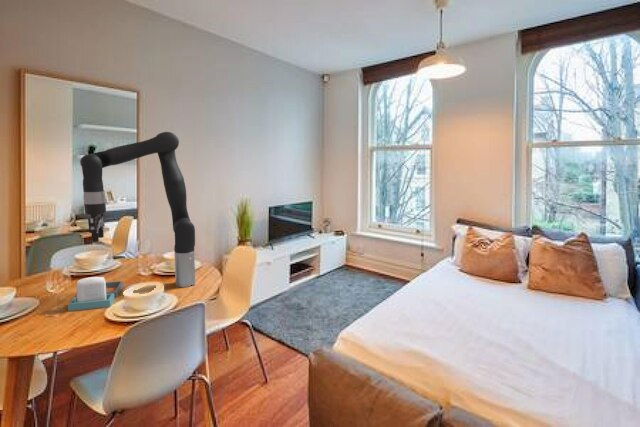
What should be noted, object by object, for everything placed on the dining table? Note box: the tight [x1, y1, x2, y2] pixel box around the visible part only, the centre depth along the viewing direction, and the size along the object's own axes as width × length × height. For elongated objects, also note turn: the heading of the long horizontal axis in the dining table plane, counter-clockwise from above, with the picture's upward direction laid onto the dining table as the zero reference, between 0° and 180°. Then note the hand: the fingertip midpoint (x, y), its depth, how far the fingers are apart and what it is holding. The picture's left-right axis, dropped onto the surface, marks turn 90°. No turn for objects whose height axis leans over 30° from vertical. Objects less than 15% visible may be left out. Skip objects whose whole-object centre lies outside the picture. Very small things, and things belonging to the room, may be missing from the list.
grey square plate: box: [105, 280, 124, 298], centre depth 152 cm, size 15×15×2 cm
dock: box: [67, 293, 116, 312], centre depth 139 cm, size 15×8×3 cm, turn 110°
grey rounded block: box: [75, 276, 107, 303], centre depth 138 cm, size 10×4×12 cm, turn 121°
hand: (98, 239), depth 141 cm, fingers open, 8 cm apart
